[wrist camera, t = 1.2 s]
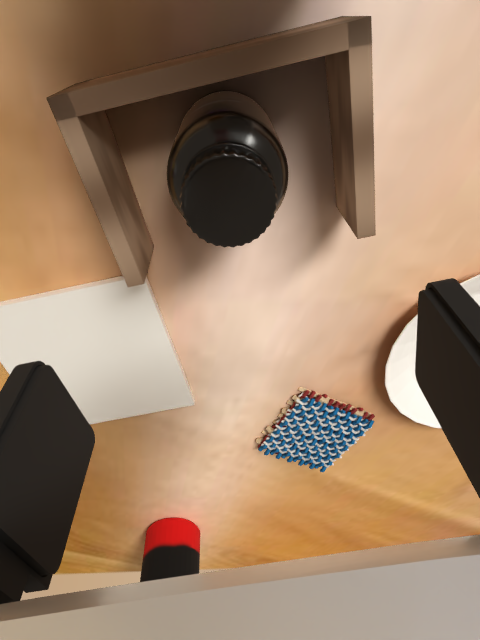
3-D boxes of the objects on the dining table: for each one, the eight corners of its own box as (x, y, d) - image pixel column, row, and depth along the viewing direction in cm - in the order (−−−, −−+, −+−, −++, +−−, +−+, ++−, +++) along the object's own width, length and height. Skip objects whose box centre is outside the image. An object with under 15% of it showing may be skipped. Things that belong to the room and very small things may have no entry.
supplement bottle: (221, 64, 27) (226, 90, 18) (292, 139, 30) (330, 198, 21) (157, 146, 30) (130, 208, 20) (228, 208, 33) (235, 288, 23)
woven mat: (376, 409, 48) (382, 422, 47) (323, 461, 53) (326, 475, 52) (300, 380, 45) (304, 393, 43) (251, 438, 50) (253, 453, 48)
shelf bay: (351, 203, 33) (375, 235, 28) (139, 249, 35) (127, 287, 30) (341, 16, 26) (370, 16, 21) (75, 83, 28) (46, 97, 23)
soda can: (135, 531, 60) (120, 630, 50) (172, 510, 57) (164, 611, 47) (174, 549, 63) (167, 645, 54) (211, 530, 61) (210, 628, 51)
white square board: (194, 399, 45) (194, 404, 44) (53, 425, 46) (51, 431, 46) (144, 271, 36) (143, 275, 35) (-31, 308, 37) (-35, 313, 36)
